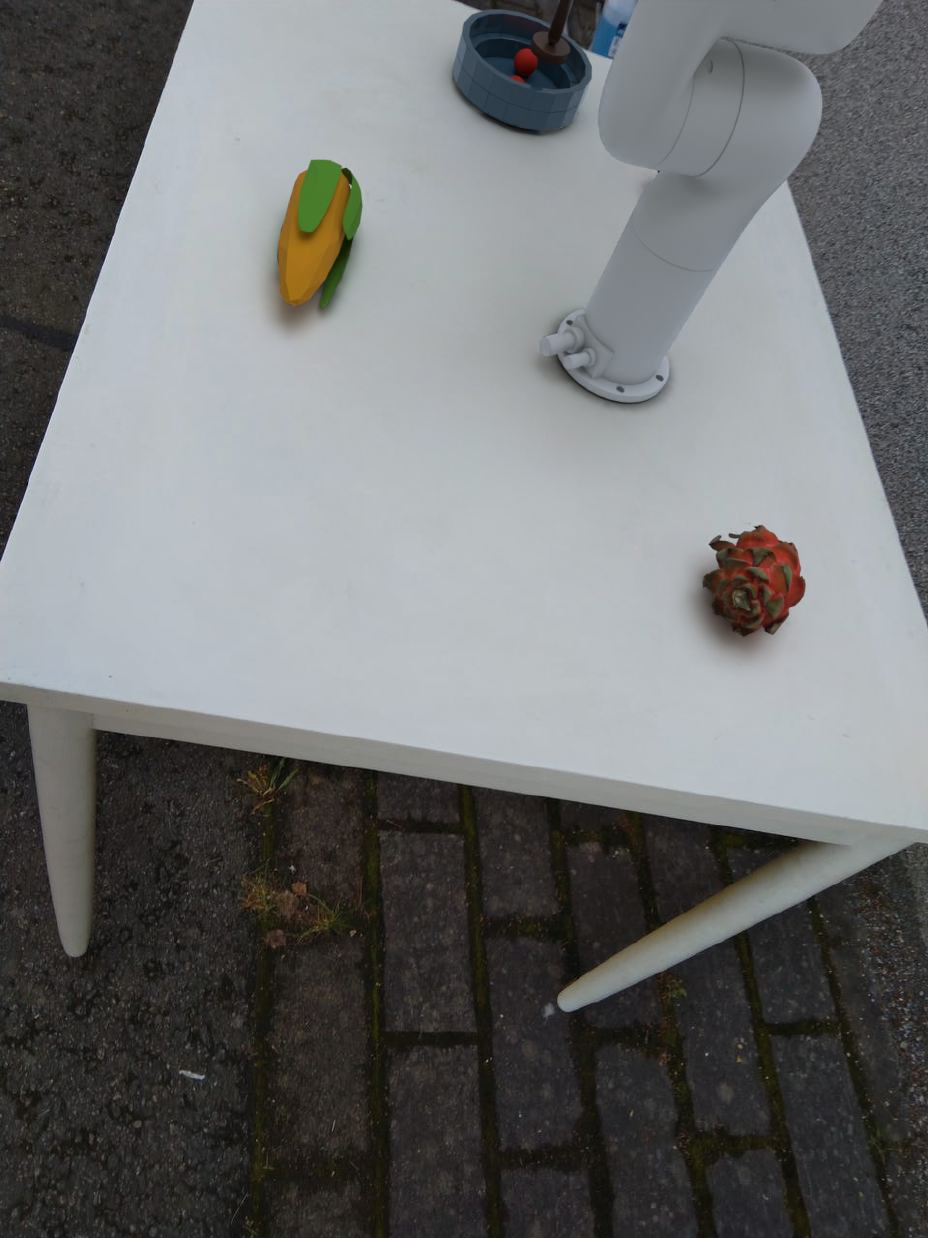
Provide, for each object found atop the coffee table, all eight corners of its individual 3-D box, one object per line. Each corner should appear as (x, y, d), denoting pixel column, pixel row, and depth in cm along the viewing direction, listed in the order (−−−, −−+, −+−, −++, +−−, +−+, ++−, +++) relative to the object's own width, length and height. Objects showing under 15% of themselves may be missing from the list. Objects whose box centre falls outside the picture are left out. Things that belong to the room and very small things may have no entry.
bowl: (494, 141, 109) (508, 97, 104) (427, 56, 114) (437, 10, 110) (599, 129, 117) (617, 88, 112) (532, 50, 122) (546, 7, 117)
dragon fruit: (704, 660, 81) (718, 572, 89) (805, 661, 77) (810, 570, 85) (693, 589, 76) (708, 503, 84) (801, 587, 72) (806, 497, 80)
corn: (374, 146, 89) (340, 276, 79) (366, 213, 96) (334, 342, 85) (300, 127, 88) (255, 256, 78) (297, 196, 95) (255, 325, 84)
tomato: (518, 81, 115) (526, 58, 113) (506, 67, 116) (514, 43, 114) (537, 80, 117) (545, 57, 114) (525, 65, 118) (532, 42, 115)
